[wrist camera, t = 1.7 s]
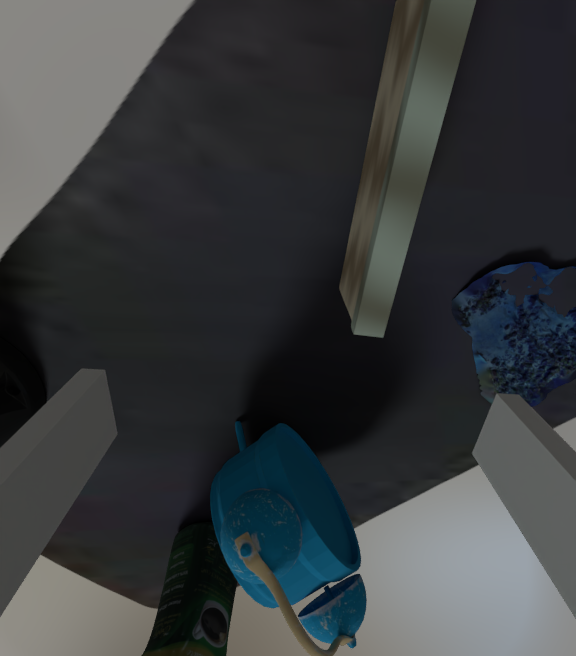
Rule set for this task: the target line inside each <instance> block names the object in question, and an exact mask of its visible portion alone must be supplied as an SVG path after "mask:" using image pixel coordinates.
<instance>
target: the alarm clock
mask: <svg viewBox="0 0 576 656" xmlns="http://www.w3.org/2000/svg"><path fill="white" fill-rule="evenodd" d="M235 425H236V434H237V439H238V444H239V449H240V453H238V454H237V455H235V456H233V457H232V458H230V459H229V460H228V461H227V462H226V463H225V464H224V465H223V467H222V469H221V470H220V471H219V472H218V473H217V474H216V475H215V478H214V480H213V482H212V486H211V492H210V506H211V514H212V521H213V525H214V529H215V533H216V536H217V539H218V542H219V545H220V548H221V551H222V553H223V555H224V558H225V560H226V562H227V564H228V566H229V568H230V569H231V571H232V573H233V574H234V576H235V578H236V580H237V581H238V582H239V584H240V585H241V586H242V587H243V589H244V590H245V591H246V593H247V594H248V595H250V596H251V597H252V598H253V599H254V600H255V601H256V602H258V603H259V604H261V605H263V606H264V607H269V608H276V607H280V609H281V611H282V613H283V615H284V617H285V619H286V621H287V623H288V625H289V627H290V629H291V630H292V632H293V634H294V635H295V637H296V638H297V640H298V642H299V643H300V644H301V646H302V647H303V648H304V649H305V650H306V651H307V652H308V653H309V654H310V655H311V656H333V655H334V654H335V652H336V651H337V649H338V647H339V645H341V646H343V645H345V644H347V645H348V646H349V647H350V648H354V647H355V646H356V638H355V633H356V632H357V630H358V629H359V627H360V625H361V623H362V621H363V619H364V615H365V611H366V591H365V586H364V583H363V580H362V578H361V576H360V574H356V575H353V576H351V577H348V578H346V579H345V580H343V581H341V582H340V583H338V584H336V585H334V586H333V587H331V588H329V586H328V585H327V584H328V583H330V582H337V581H340V580H342V579H343V578H345V577H347V576H348V575H350V574H352V573H354V572H355V571H357V570H358V569H359V567H360V563H361V556H360V549H359V545H358V541H357V537H356V534H355V531H354V528H353V525H352V523H351V520H350V518H349V515H348V513H347V511H346V509H345V506H344V504H343V502H342V500H341V498H340V496H339V494H338V492H337V490H336V488H335V486H334V485H333V483H332V481H331V479H330V477H329V476H328V474H327V472H326V471H325V469H324V468H323V466H322V464H321V463H320V461H319V460H318V458H317V457H316V455H315V454H314V453H313V451H312V450H311V449H310V447H309V446H308V445H307V444H306V442H305V441H304V440H303V439H302V438H301V437H300V435H299V434H298V433H297V432H295V431H294V430H293V429H292V428H291V427H289V426H288V425H286V424H283V423H279V424H277V425H276V426H274V427H273V428H271V429H270V430H268V431H267V432H265V433H264V434H263V435H262V436H261V437H260V439H259V440H258V441H256V442H255V443H253V444H252V445H250V446H249V447H247V446H246V441H245V437H244V432H243V428H242V425H241V422H240V421H237V422H235ZM325 585H327V586H326V587H325V588H324V590H325V592H324V593H322V594H321V595H320V596H318V597H317V598H316V599H314V600H313V601H312V602H311V603H309V604H308V605H307V606H306V607H305V608H304V609H303V610H302V611H301V612H300V613H299V615H298V617H299V619H300V621H301V623H302V625H303V626H304V627H305V629H306V630H307V631H308V632H309V633H310V634H311V635H312V636H313V637H315V638H317V639H318V640H320V641H322V642H326V643H331V646H330V647H329V649H328V650H322V649H321V648H319V647H318V646H317V645H316V644H315V643H314V642H313V641H312V640H311V639H310V637H309V636H308V635H307V633H306V632H305V630H304V629H303V627H302V625H301V624H300V622H299V620H298V618H297V617H296V615H295V613H294V611H293V609H292V607H291V605H294V604H296V603H297V602H299V601H300V600H302V599H304V598H305V597H307V596H309V595H310V594H312V593H314V592H315V591H317V590H318V589H320V588H322V587H324V586H325Z"/></svg>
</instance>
